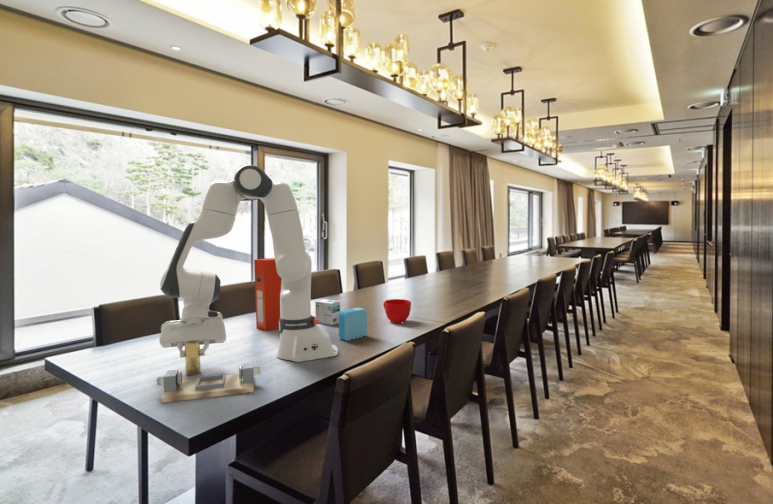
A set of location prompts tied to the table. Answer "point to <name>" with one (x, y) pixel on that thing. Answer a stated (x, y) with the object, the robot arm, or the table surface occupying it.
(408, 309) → the ceramic cup
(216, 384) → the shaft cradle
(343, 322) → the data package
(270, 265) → the file binder
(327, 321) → the light bulb box
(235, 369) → the table surface
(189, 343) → the cylinder
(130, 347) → the table surface
